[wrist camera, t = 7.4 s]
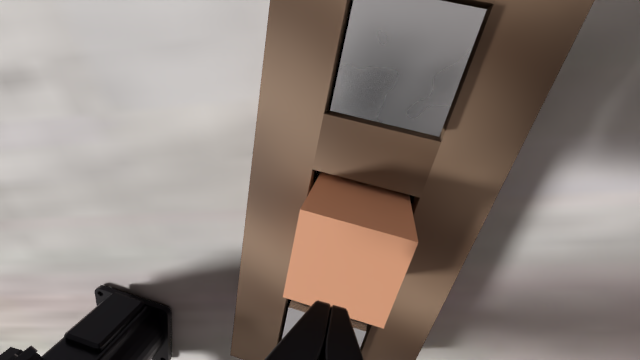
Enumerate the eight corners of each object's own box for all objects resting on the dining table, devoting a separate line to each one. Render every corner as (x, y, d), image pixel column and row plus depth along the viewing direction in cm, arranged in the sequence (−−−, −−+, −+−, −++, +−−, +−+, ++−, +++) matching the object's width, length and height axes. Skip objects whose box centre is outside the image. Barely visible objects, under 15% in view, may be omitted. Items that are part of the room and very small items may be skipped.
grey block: (425, 117, 14) (439, 136, 10) (342, 98, 14) (330, 110, 11) (457, 24, 12) (487, 9, 9) (363, 5, 13) (356, -16, 9)
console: (389, 348, 21) (390, 409, 17) (255, 306, 22) (230, 355, 18) (546, -14, 12) (617, -47, 8) (310, -57, 13) (281, -103, 9)
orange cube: (383, 265, 15) (383, 328, 11) (305, 242, 15) (282, 297, 12) (409, 194, 13) (418, 242, 10) (321, 171, 13) (300, 209, 10)
